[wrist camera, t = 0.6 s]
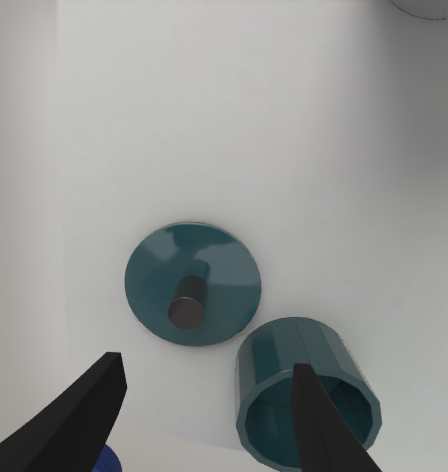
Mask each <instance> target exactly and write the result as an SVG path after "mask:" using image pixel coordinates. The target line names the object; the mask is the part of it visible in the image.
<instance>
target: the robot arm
mask: <svg viewBox="0 0 448 472" xmlns="http://www.w3.org/2000/svg"><path fill="white" fill-rule="evenodd" d="M126 391H127V383H126V378H125V372H124V367H123V362H122V356H121V353H117V352H106V353H105V354H104V355H103V356H102V357H101V358H100V359H99V360H97V361H96V362H95V363H94V364H93V365H92V366H91V367H90V368H89V369H88V370H87V371H86V372H85V373H84V374H82V375H81V376H80V377H79V378H78V379H77V380H76V381H75V382H74V383H73V384H72V385H70V386H69V387H68V388H67V389H66V390H65V391H64V392H63V393H62V394H61V395H59V396H58V397H57V398H56V399H55V400H54V401H52V402H51V403H50V404H49V405H48V406H47V407H45V408H44V409H43V410H42V411H41V412H40V413H38V414H37V415H36V416H35V417H33V419H31V420H30V421H29V422H27V423H26V424H25V425H23V426H22V427H21V428H20V429H18V430H17V431H16V432H14V433H13V434H12V435H10V436H9V437H8V438H6V439H5V440H4V441H2V442H1V443H0V472H92V470H93V468H94V466H95V464H96V462H97V460H98V458H99V455H100V453H101V451H102V449H103V447H104V445H105V443H106V440H107V438H108V436H109V434H110V432H111V430H112V427H113V425H114V423H115V421H116V419H117V416H118V414H119V411H120V409H121V406H122V403H123V400H124V397H125V394H126ZM290 405H291V414H292V423H293V430H294V435H295V440H296V445H297V450H298V455H299V460H300V464H301V469H302V472H382V471H381V470H380V468H379V467H378V466H377V465H376V463H375V462H374V461H373V459H372V458H371V457H370V456H369V454H368V453H367V452H366V450H365V449H364V448H363V446H362V445H361V443H360V442H359V441H358V439H357V438H356V436H355V435H354V434H353V432H352V431H351V429H350V428H349V426H348V425H347V423H346V422H345V421H344V419H343V417H342V416H341V414H340V413H339V411H338V410H337V408H336V407H335V405H334V404H333V402H332V400H331V399H330V397H329V395H328V394H327V392H326V390H325V389H324V387H323V385H322V383H321V382H320V380H319V378H318V376H317V374H316V373H315V371H314V369H313V367H312V365H311V364H307V363H294V369H293V377H292V386H291V394H290Z"/></svg>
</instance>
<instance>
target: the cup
mask: <svg viewBox="0 0 448 472" xmlns="http://www.w3.org/2000/svg"><path fill="white" fill-rule="evenodd" d="M390 1H392V2H393V3H394V5H397V6H398V7H399V8H400V9H402V10H404V11H405V12H406V13H407V12H408V13H409V14H410V15H411V14H412V15H413V16H417V17H421V18H426V19H427V18H428V19H441V18H442V19H445V18H448V0H390Z"/></svg>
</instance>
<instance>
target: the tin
mask: <svg viewBox="0 0 448 472" xmlns="http://www.w3.org/2000/svg"><path fill="white" fill-rule="evenodd" d="M294 363H307V364H311V365H312V367H313V369H314V371H315V373H316V374H317V376H318V378H319V380H320V382H321V383H322V385H323V387H324V389H325V390H326V392H327V394H328V395H329V397H330V399H331V400H332V402H333V404H334V405H335V407H336V408H337V410H338V411H339V413H340V414H341V416H342V417H343V419H344V421H345V422H346V423H347V425H348V426H349V428H350V429H351V431H352V432H353V434H354V435H355V436H356V438H357V439H358V441H359V442H360V443H361V445H362V446H363V448H364V449H365V450H366V451H367V450H368V449H369V448H370V447H371V446H372V445H373V444H374V441H375V439H376V437H377V435H378V432H379V430H380V428H381V425H382V419H381V409H380V402H379V400H378V398H377V397H376V395H375V393H374V392H373V390H372V388H371V386H370V385H369V383H368V381H367V380H366V378H365V376H364V374H363V373H362V371H361V369H360V368H359V366H358V364H357V362H356V361H355V359H354V357H353V356H352V354H351V352H350V351H349V349H348V347H347V346H346V345H345V343H344V342H343V340H342V339H341V337H340V336H339V335H338V334H337V333H336V332H335V331H334V330H333V329H331V328H330V327H328V326H327V325H325V324H323V323H321V322H318V321H315V320H312V319H307V318H300V317H289V318H282V319H278V320H274V321H271V322H269V323H266V324H264V325H262V326H260V327H259V328H257V329H256V330H255V331H253V332H252V333H251V334H250V335H249V336H248V337H247V338H246V339H245V341H244V342H243V344H242V345H241V347H240V349H239V351H238V354H237V358H236V367H235V408H236V428H237V431H238V435H239V438H240V441H241V444H242V446H243V447H244V448H245V449H246V450H247V451H248V452H249V453H250V454H251V455H252V456H253V457H254V458H255V459H256V460H257V461H258V462H260V463H262V464H264V465H267V466H269V467H271V468H273V469H275V470H277V471H280V472H302V469H301V464H300V460H299V455H298V450H297V445H296V440H295V435H294V430H293V423H292V414H291V405H290V394H291V386H292V377H293V369H294Z"/></svg>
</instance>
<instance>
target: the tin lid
mask: <svg viewBox="0 0 448 472" xmlns="http://www.w3.org/2000/svg"><path fill="white" fill-rule="evenodd" d="M125 291H126V296H127V299H128V302H129V305H130V307H131V309H132V311H133V312H134V314H135V316H136V317H137V318H138V319H139V321H140V322H141V323H142V324H143V325H144V326H145V327H146V328H147V329H148V330H150V331H151V332H152V333H154V334H155V335H157V336H159V337H161V338H162V339H165V340H167V341H169V342H173V343H176V344H180V345H185V346H206V345H212V344H216V343H219V342H222V341H225V340H227V339H229V338H231V337H233V336H234V335H235V334H237V333H238V332H240V331H241V330H242V329H243V328H244V327H245V326H246V325H247V324H248V323H249V321H250V320H251V318H252V317H253V315H254V314H255V312H256V309H257V307H258V304H259V301H260V295H261V280H260V274H259V271H258V267H257V264H256V262H255V260H254V258H253V256H252V255H251V253H250V252H249V250H248V249H247V248H246V247H245V245H244V244H243V243H242V242H241V241H239V240H238V239H237V238H236V237H235V236H233V235H232V234H230V233H229V232H227V231H225V230H223V229H221V228H219V227H216V226H213V225H210V224H205V223H199V222H181V223H175V224H171V225H168V226H165V227H163V228H161V229H158V230H156V231H155V232H153V233H152V234H150V235H149V236H148V237H146V238H145V239H144V240H143V241H142V242H141V243H140V244H139V245H138V247H137V248H136V249H135V250H134V252H133V254H132V255H131V257H130V259H129V262H128V264H127V268H126V272H125Z"/></svg>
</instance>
